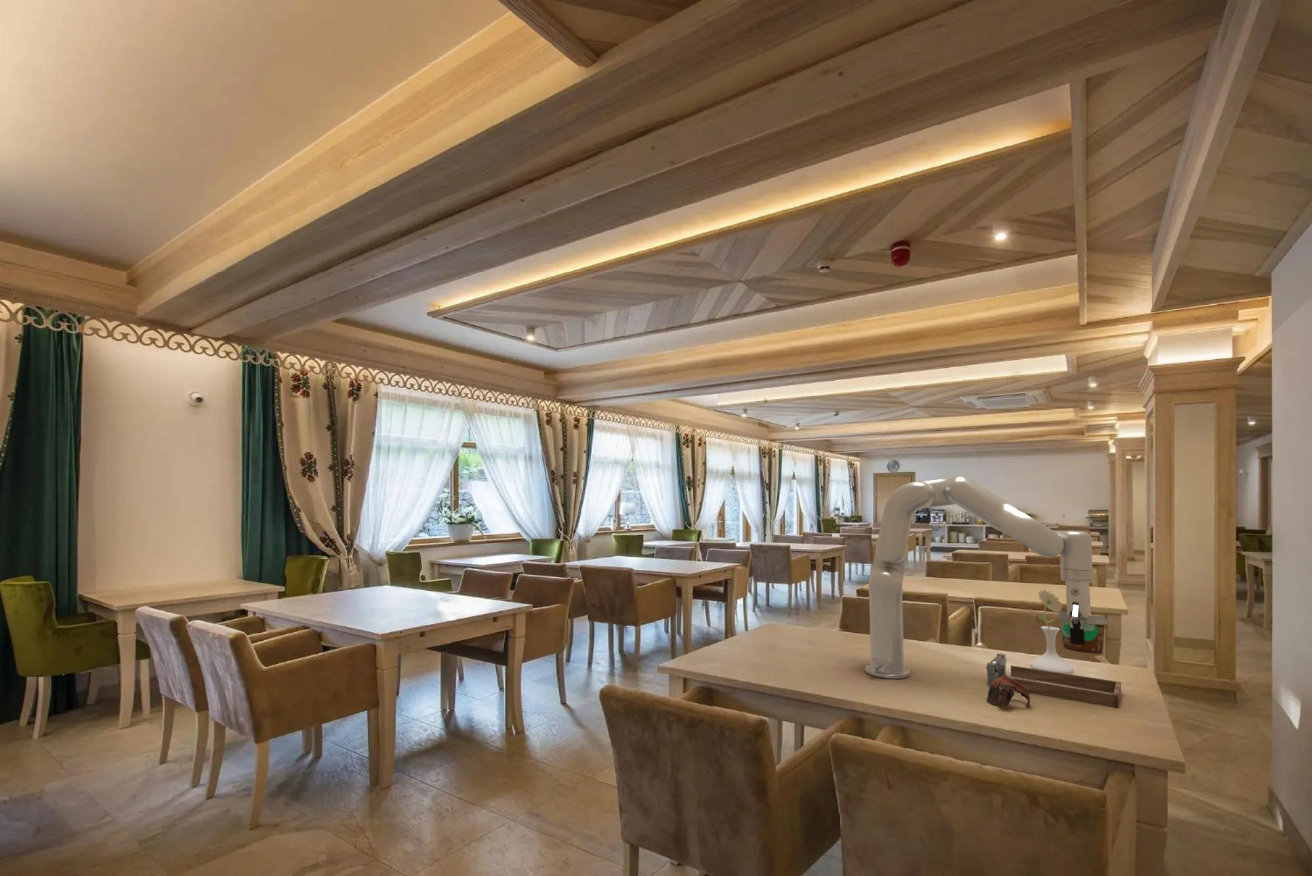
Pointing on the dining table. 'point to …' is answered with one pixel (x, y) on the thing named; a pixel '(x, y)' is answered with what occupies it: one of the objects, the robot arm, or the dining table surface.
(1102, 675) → the dining table surface
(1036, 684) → the long wooden tray
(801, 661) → the dining table surface
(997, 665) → the grey arched handle
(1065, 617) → the food container
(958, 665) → the dining table surface
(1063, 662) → the flower in vase
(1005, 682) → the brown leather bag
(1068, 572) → the robot arm
